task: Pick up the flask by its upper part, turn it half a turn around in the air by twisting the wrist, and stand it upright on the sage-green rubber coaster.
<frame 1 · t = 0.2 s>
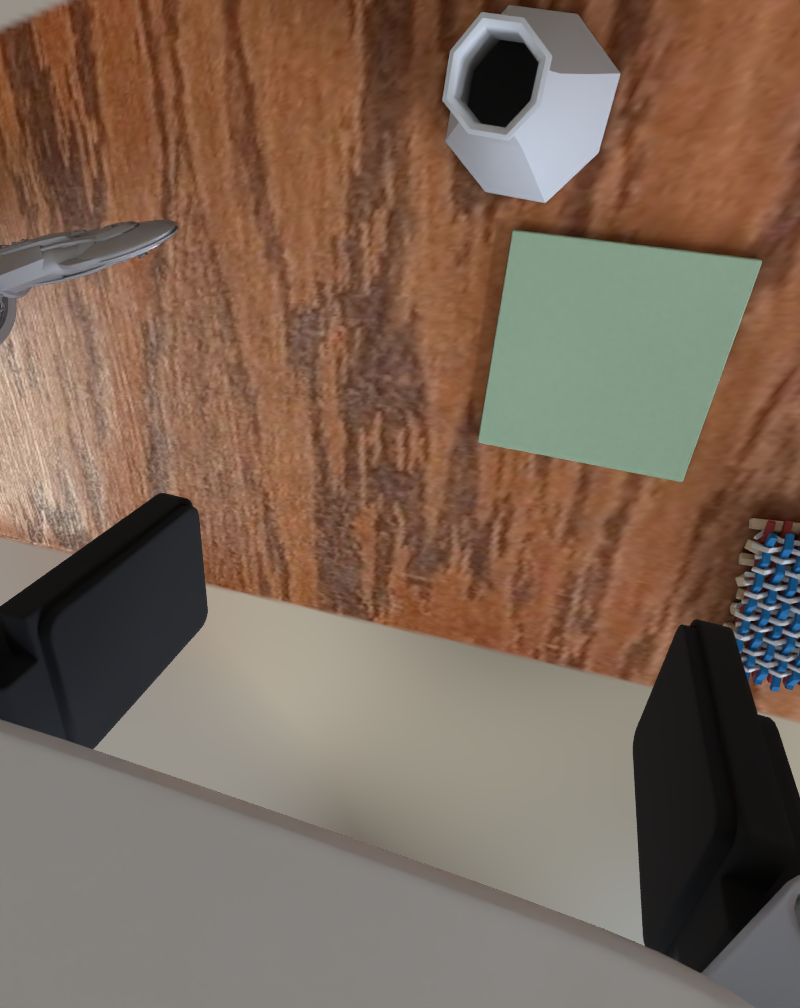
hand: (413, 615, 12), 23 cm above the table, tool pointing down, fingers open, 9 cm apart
spaceship: (8, 277, 39), on the table
coaster: (602, 360, 31), on the table
flask: (529, 110, 27), on the table
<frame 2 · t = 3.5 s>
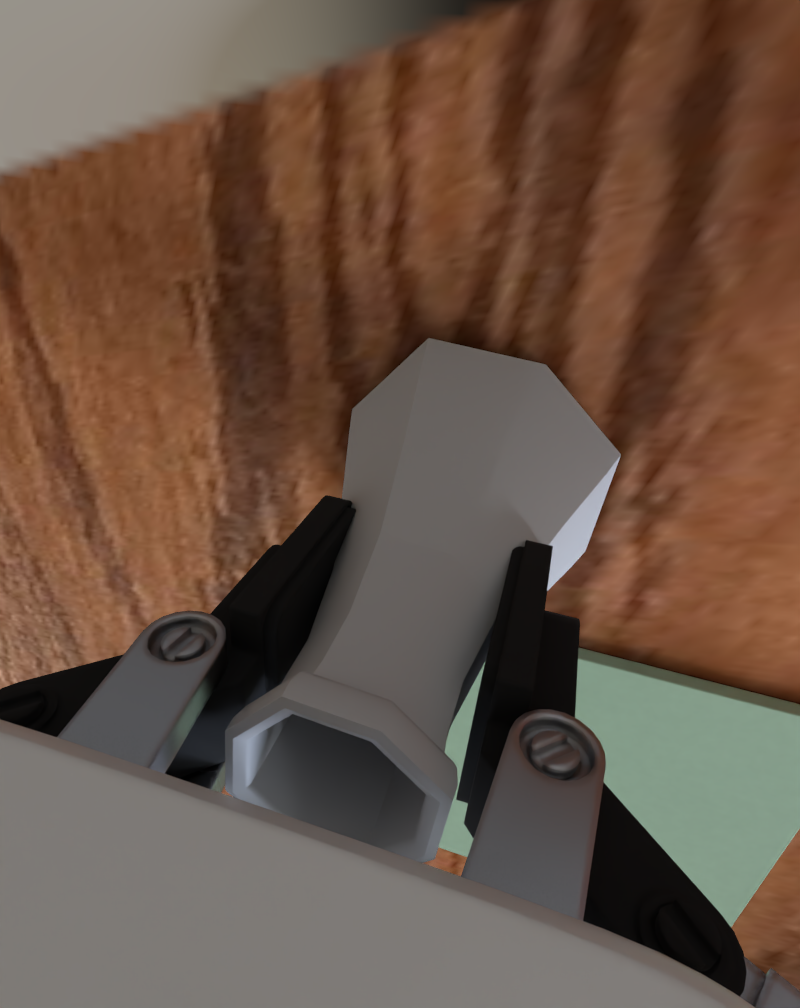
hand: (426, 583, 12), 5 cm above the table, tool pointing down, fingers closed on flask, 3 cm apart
coaster: (600, 785, 20), on the table
flask: (472, 472, 16), on the table, touching gripper
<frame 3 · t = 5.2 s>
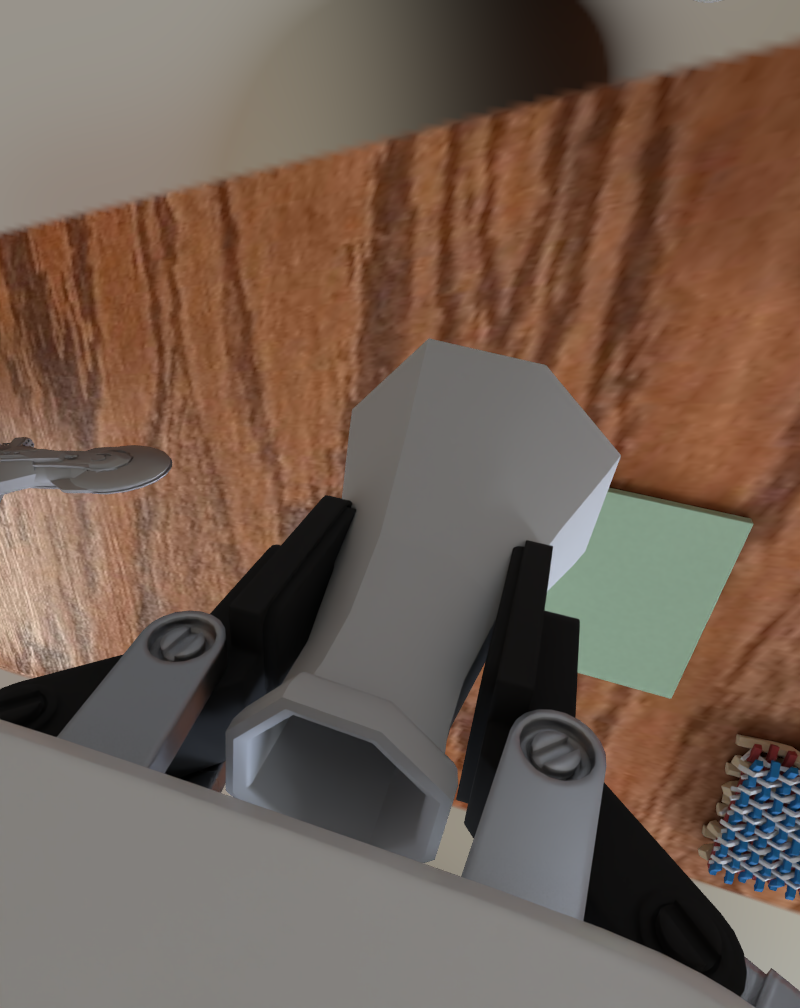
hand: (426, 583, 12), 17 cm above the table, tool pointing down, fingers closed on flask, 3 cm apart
spaceship: (0, 444, 38), on the table
coaster: (593, 584, 31), on the table
flask: (472, 472, 16), point 12 cm above the table, touching gripper
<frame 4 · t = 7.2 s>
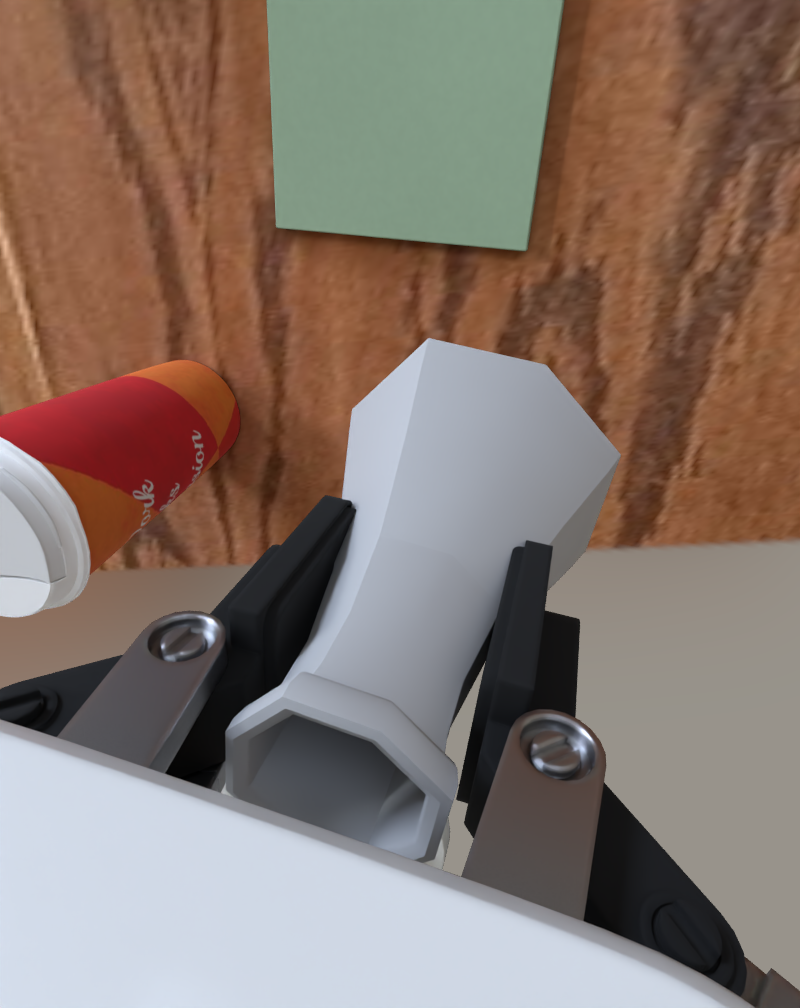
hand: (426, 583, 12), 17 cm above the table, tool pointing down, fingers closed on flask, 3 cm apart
coaster: (406, 82, 23), on the table
flask: (472, 472, 16), point 12 cm above the table, touching gripper
paper cup: (198, 408, 33), on the table
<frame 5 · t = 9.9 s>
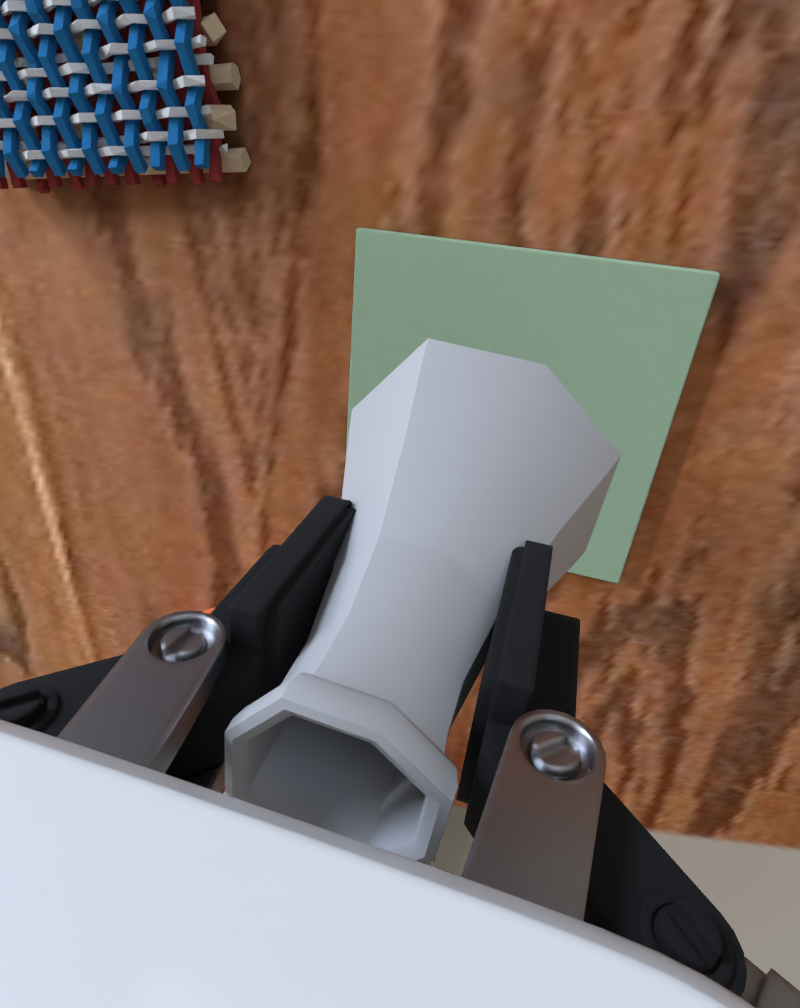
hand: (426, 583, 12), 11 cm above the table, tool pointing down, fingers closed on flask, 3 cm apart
woven mat: (90, 2, 19), on the table
coaster: (499, 415, 21), on the table
flask: (471, 472, 16), point 6 cm above the table, touching gripper
when the fingers open (5 cm above the table, at t = 11.4 s): flask stays where it is, resting on coaster.
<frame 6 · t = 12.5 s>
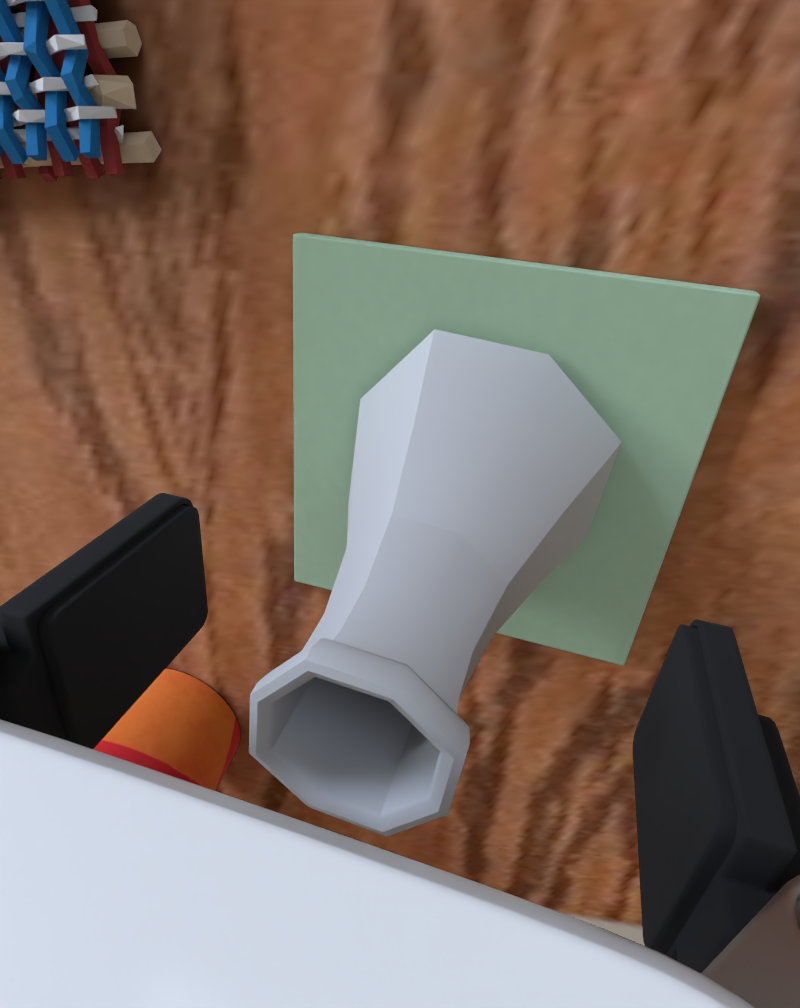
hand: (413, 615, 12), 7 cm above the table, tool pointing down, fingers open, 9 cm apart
coaster: (477, 463, 17), on the table
flask: (476, 460, 17), resting on coaster
paper cup: (189, 712, 27), on the table
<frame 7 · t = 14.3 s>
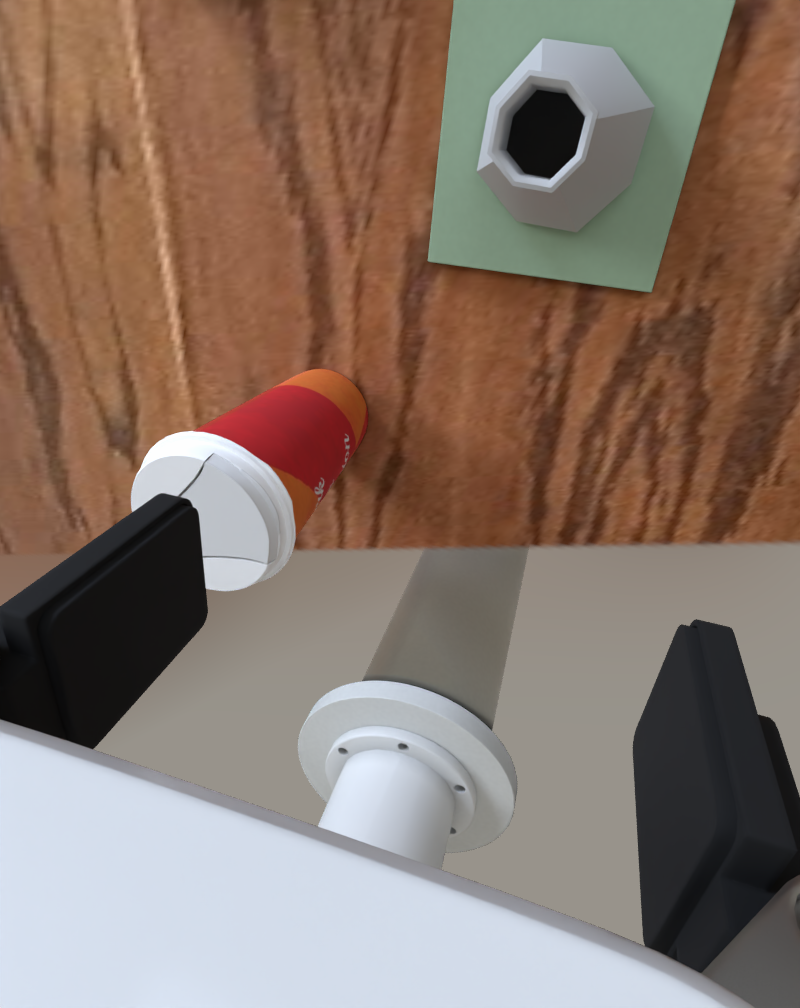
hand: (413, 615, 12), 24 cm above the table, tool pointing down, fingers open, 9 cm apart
coaster: (560, 147, 27), on the table
flask: (561, 141, 27), resting on coaster
paper cup: (328, 410, 37), on the table
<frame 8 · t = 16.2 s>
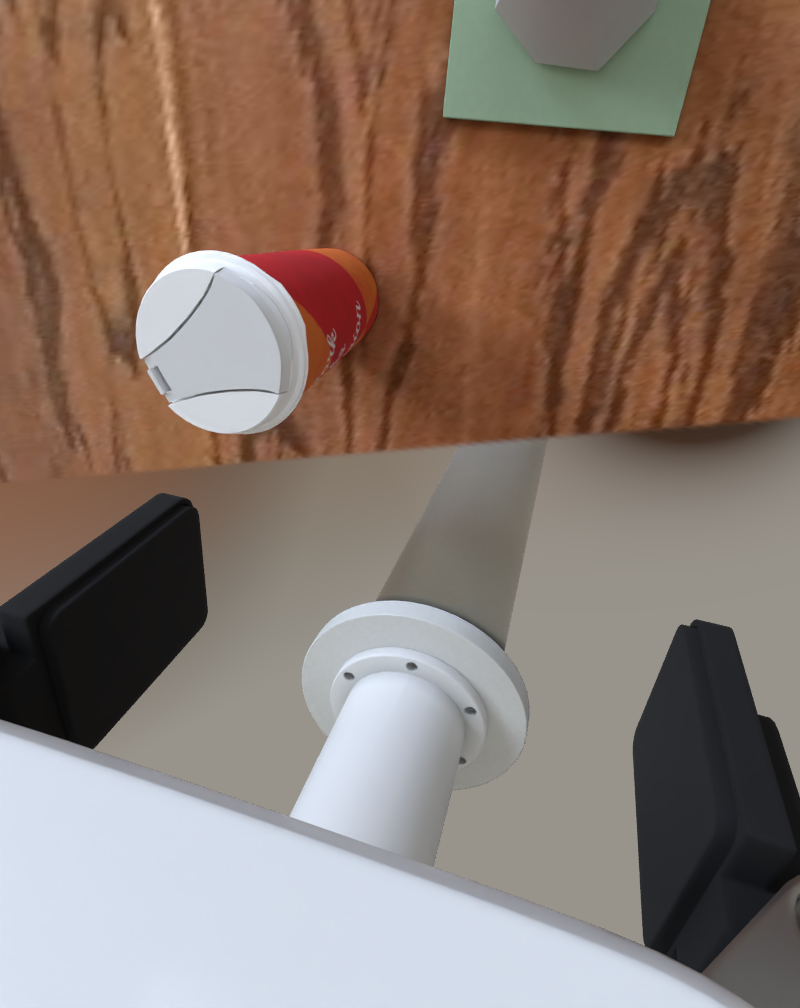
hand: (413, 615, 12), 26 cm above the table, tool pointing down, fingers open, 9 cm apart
paper cup: (337, 297, 36), on the table
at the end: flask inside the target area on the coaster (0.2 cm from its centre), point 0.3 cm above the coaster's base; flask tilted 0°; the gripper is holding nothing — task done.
